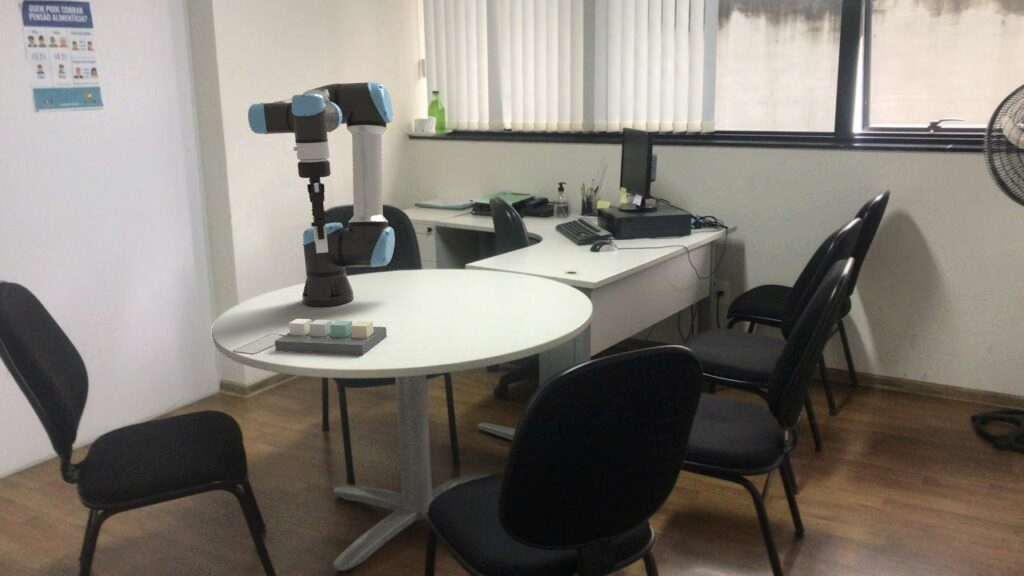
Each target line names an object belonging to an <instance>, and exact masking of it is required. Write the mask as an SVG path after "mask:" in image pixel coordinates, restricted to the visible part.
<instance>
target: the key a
mask: <svg viewBox="0 0 1024 576" xmlns="http://www.w3.org/2000/svg"><path fill="white" fill-rule="evenodd" d="M310 323H312V319H311V318H296V319H294V320H292V321H289V322H288V327H289V328H288V329H289V332H290V335H301V336H305V335H306V334H308V333H310V326H309V324H310Z"/></svg>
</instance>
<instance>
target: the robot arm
mask: <svg viewBox="0 0 1024 576" xmlns="http://www.w3.org/2000/svg"><path fill="white" fill-rule="evenodd" d="M393 114H394V113H393V105H392V100H391V97H390V93H389V91H388V88H387V87H386V86H385V84H383V83H381V82H370V81H368V82H351V83H345V82H344V83H330V84H326V85H322V86H318V87H315V88H311V89H308V90H306V91H304V92H303V93H302V94H301V93H300V94H294V95H293V96H292V97H290V98H286V99H283V100H278V101H273V102H265V103H264V102H260V103H253V104H251V105H250V106H249V108H248V111H247V120H248V124H249V125H248V126H249V128H250V130H251V131H252V132H253V133H254V134H256V135H259V134H260V135H268V134H269V135H273V134H274V135H275V134H277V135H278V134H294V138H295V141H294V142H295V146H294V147H293V151H294V152H296V158H297V160H299V161H298V162H297V173H298V177H299V178H302V179H308V182H309V183H308V184H307V185H306V186H307V187H306V188H307V192H308V195H309V196H308V197H309V202H310V203H311V212H312V213H311V215H312V222H311V223H310V224H311V225H310V227H308V228H306V229H305V230H304V231H303V233H302V236H303V237H302V238H303V239H302V240H303V241H302V242H303V244H302V246H303V254H304V263H305V273H306V277H305V278H306V279H305V282H304V287H303V291H302V304H303V305H305V306H307V307H308V306H309V307H319V308H320V307H321V308H322V307H332V306H340V305H344V304H347V303H350V302H352V301H353V300H354V299H355V298H354V297H355V295H354V290H353V287H352V285H351V283H350V281H349V278H348V276H347V271H346V268H363V267H365V268H366V267H367V268H368V267H369V268H375V267H376V268H377V267H385V266H387V265H388V264H390V262H391V260H392V257H393V256H394V255H393V254H394V249H395V242H396V237H395V230H394V229H393V227H391V226H389V220H387V218H385V216H384V211H383V210H384V209H383V205H384V204H383V203H384V202H383V197H384V196H383V152H382V151H383V147H382V146H383V145H382V144H383V143H382V142H383V141H382V138H383V137H382V135H383V134H384V133H385V132H386V131H387V124H390V123H392V121H393V116H394V115H393ZM341 124H343V125H344V124H346V130H347V131H348V132H349V133H350V134H351V138H352V140H351V142H352V145H351V146H352V147H351V148H352V190H353V191H352V192H353V193H352V195H353V204H352V205H353V216H352V217H351V218H350V220H348V227H344V226H343V224H342V223H341V222H330V223H327V220H326V215H327V213H326V211H325V205H324V202H325V200H326V199H325V192H326V191H325V184H324V183H322V182H321V178H326V177H330V175H331V162H330V160H328V159H329V158H330V148H329V147H330V146H329V141H328V133H332V132H333V131H335V130H337V129H338V128H339V127H340V126H341Z"/></svg>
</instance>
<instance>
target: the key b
mask: <svg viewBox="0 0 1024 576" xmlns="http://www.w3.org/2000/svg"><path fill="white" fill-rule="evenodd" d="M332 323H333V322H332V319H316V320H314V321H311V323H310V324H309V326H310V336H323V337H325V336H327V335H328V334H330V333H331V329H330V325H331V324H332Z"/></svg>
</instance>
